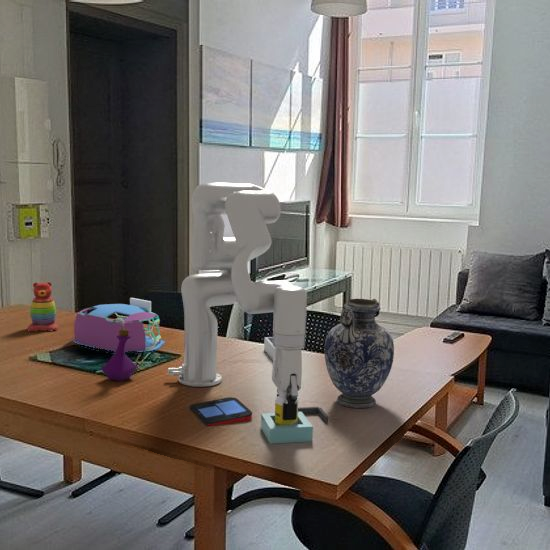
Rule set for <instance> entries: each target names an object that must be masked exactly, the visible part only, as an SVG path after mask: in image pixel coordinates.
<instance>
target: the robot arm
mask: <svg viewBox="0 0 550 550" xmlns="http://www.w3.org/2000/svg"><path fill="white" fill-rule="evenodd" d="M191 207H192V214H193V230H192V239H191V248H190V264H191V266H192V268H193V269H194V270H196V271H201V272H206V273H195V274H191V275H188V276H187V277H185V278H184V279H183V281H182V282H181V288H180V289H181V296H182V298H181V299H182V303H183V312H184V313H183V314H184V315H183V317H184V326H183V327H184V339H183V340H184V341H183V342H184V347H183V348H184V349H183V363H182V364H181V365H182V366H181V365H180V366H178V367H167V375H172V376H173V377H177V376H178V382H179V383H180V384H182V385H184V386H188V387H196V388H197V387H198V388H200V387H212V386H216V385H219V384H220V383H221V382H223V381H222V380H223V378H222V375H221V374H220V373H217V371H218V369H217V368H218V363H217V362H218V319H217V317H216V316H215V314H214V313H213V311H212V310H211V307H215V306H216V307H217V306H227V305H229V306H230V305H234V304H235V303H238V305H239V307H240V309H241V310H242V311H243V312H245V313H247V314H249V315H255V314H258V315H259V314H268V313H273V323H272V324H273V325H272V331H273V332H272V337H273V346H274V347H275V348H274V356H273V360H272V371H271V381H272V382H273V384H274V385H275V387H276V392H277V393H276V398H277V397H278V396H279V393H278V391H279V390H280V391H281V392H283V391H284V401H285V403H283V420H296V418H297V399H298V396H299V391H300V390H301V388H302V372H303V366H302V364H303V361H302V358H303V356H302V349H304V348H306V334H307V333H306V332H307V331H306V330H307V329H306V328H307V311H308V310H307V308H308V307H307V306H308V292H307V290H306V288H304V287H301V286H298V285H294V284H293V283H291V281H288V280H285V279H281V280H260V281H259V280H258V281H252V279H251V276H250V274H249V269H248V262H250V261H252V260H254V259H255V258H258V257H260V256H261V255H263V254H265V253H266V252H267V251H269V249H270V248H271V245H272V237H271V234H270V232H269V230H268V226H267V224H274V223H276V222H277V221H278V220H279V218H280V217H281V212H282V208H281V203H280V201H279V198H278V197H277V195H276V194H275V193H274V192H272V191H271V190H270V189H269V190H268V189H265V188H264V187H261V186H259V185H255V184H253V183H241V182H240V183H237V182H235V183H234V182H206V183H205V182H204V183H200V184H199V185H197V186H196V187H195V188H194V190H193V193H192V196H191ZM222 215H225V216H226V215H227V219H228V222H229V225H230V228H231V230H232V234H233V236H229V237H228V236H224V234H225V233H224V232H225V228H226V227H225V220H224V219H223V217H222ZM215 271H217V272H215ZM218 271H219V272H218ZM220 271H222V272H220ZM207 272H208V273H207ZM209 272H210V273H209ZM287 387H291V390H287ZM288 393H291V395H289V396H288Z"/></svg>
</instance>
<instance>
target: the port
mask: <svg viewBox="0 0 550 550" xmlns="http://www.w3.org/2000/svg"><path fill="white" fill-rule="evenodd" d="M260 415H261V416H260V429H261V430H262V432H263V434H264V436H265V438H266V439H267V441H268V443H269V445H272V444H286V443H302V442H303V443H304V442H313V436H314V435H313V434H314V431H313V430H314V426H313V424H312V423H311V422H310V420H309V419H308V418H307V416H305V414H303V413H302V412H298V425H280V426H276V425H275V412H270V413H269V412H267V413H264V412H263V413H261V414H260Z"/></svg>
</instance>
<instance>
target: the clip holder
mask: <svg viewBox="0 0 550 550" xmlns="http://www.w3.org/2000/svg"><path fill="white" fill-rule="evenodd" d="M263 341H264V342H263V343H264V345H263V346H264V347H263V350H264V352H265V353H266V352H267V353H266V354H267V355H268V356H269V358H270V357H271V358H270V359H271V360H272V361H273V356H274V348H275V347H274V346H273V336H267V337H266V336H265V337H264V340H263Z"/></svg>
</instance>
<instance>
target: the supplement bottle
mask: <svg viewBox="0 0 550 550" xmlns="http://www.w3.org/2000/svg"><path fill="white" fill-rule="evenodd" d="M287 390H291V387H287ZM278 393H279V396H278V397H277V396H276V398H275V402H274V413H275V425H276V426H280V425H298V408H299V399H298V398H297V418H296V420H283V403H285V401H284V391H283V392H281V391H280V390H279V391H278ZM289 395H291V393H288V396H289Z"/></svg>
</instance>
